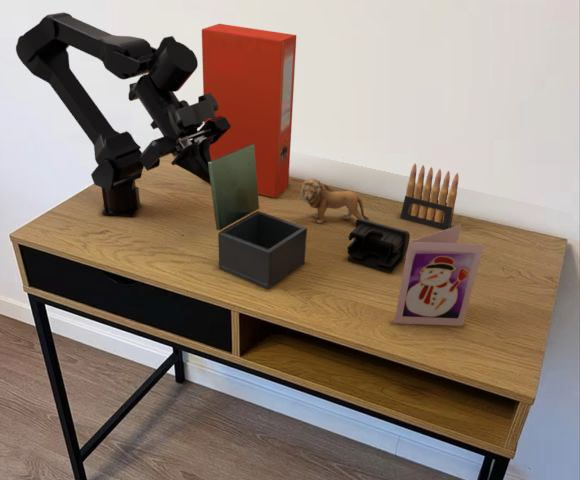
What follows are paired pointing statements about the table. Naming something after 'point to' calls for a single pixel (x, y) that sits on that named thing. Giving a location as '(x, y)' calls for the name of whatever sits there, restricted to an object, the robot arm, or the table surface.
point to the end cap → (377, 245)
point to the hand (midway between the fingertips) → (213, 183)
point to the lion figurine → (330, 199)
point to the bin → (262, 248)
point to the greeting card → (437, 279)
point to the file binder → (252, 96)
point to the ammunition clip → (430, 199)
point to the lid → (234, 186)
